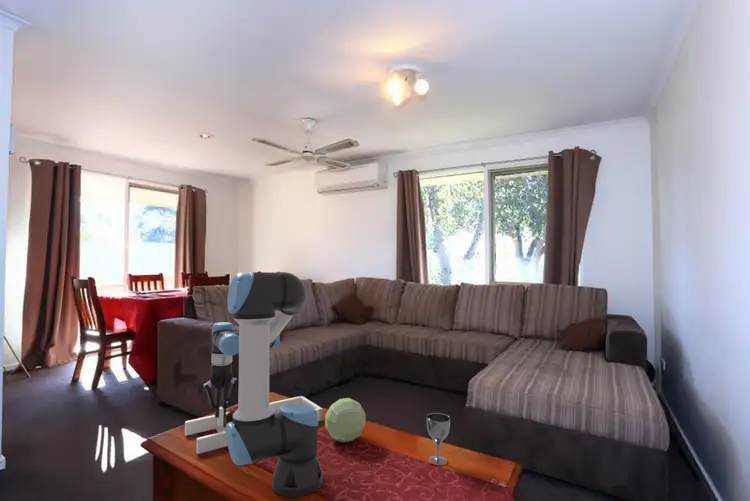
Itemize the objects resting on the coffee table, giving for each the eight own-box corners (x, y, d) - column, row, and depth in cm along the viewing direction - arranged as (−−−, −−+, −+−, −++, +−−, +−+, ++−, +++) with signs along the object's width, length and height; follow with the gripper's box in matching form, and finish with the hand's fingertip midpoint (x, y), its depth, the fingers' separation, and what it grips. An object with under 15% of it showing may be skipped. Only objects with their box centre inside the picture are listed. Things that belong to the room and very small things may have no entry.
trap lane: (322, 425, 170) (322, 408, 170) (197, 459, 140) (197, 439, 140) (301, 410, 185) (301, 395, 185) (184, 439, 155) (185, 421, 155)
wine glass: (431, 468, 133) (432, 423, 133) (422, 456, 141) (423, 413, 141) (453, 465, 135) (454, 420, 135) (443, 454, 143) (443, 411, 143)
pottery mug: (250, 420, 164) (249, 408, 159) (242, 442, 156) (240, 430, 151) (221, 416, 164) (220, 403, 159) (211, 437, 156) (209, 425, 151)
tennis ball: (370, 445, 149) (371, 404, 149) (331, 451, 143) (332, 409, 143) (357, 428, 163) (357, 391, 163) (321, 434, 157) (321, 395, 157)
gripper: (235, 358, 161) (233, 417, 161) (201, 363, 153) (199, 425, 153) (242, 362, 155) (240, 424, 155) (206, 368, 147) (205, 432, 147)
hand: (220, 424), depth 154 cm, fingers closed
